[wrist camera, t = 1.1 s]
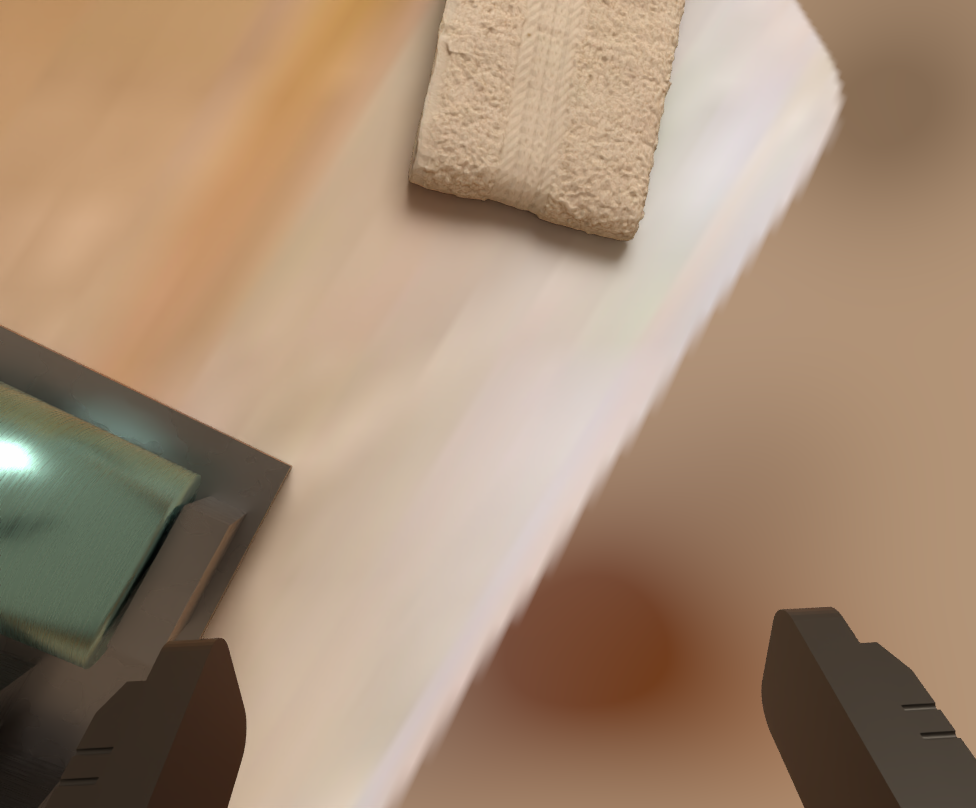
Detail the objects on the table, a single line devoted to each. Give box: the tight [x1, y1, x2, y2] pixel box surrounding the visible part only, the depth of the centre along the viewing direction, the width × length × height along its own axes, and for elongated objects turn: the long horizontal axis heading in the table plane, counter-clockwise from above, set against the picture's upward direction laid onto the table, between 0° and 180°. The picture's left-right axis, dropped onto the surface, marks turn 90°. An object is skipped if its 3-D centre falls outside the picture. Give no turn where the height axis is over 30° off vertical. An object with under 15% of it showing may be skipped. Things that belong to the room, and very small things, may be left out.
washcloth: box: [408, 0, 685, 241], centre depth 36 cm, size 12×18×3 cm, turn 170°
